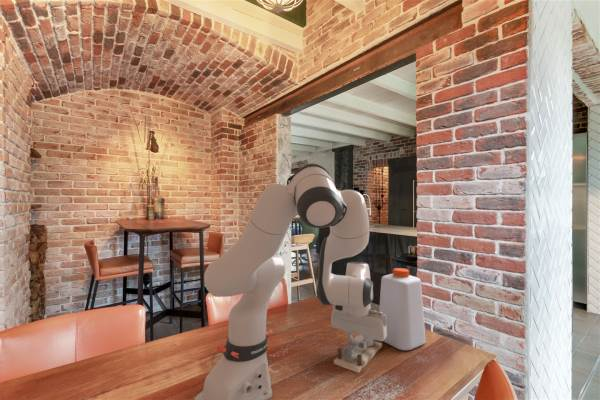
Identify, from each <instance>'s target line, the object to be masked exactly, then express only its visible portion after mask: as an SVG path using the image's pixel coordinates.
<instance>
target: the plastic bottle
mask: <svg viewBox="0 0 600 400" xmlns="http://www.w3.org/2000/svg"><path fill="white" fill-rule="evenodd" d="M380 280H381V281H380V294H379V295H380V296H379V311H378V312H382V313H383V314H384V315H385V316H386V317H387V324H386V327H387V337H386V339H385V340H383V341H382V342H384V343H386V344H388V345H390V346H392V347H393V348H395V349H397V350H399V351H411V350H414V349H415V348H418V347H420V346H423V345H424V344H425V343H426V329H425V328H426V327H425V317H424V316H425V313H424V304H423V303H424V301H423V289H422V280H421V279H420V278H419V277H417V276H415V275H411V274H410V270H409V269H408V268H402V267H400V268H399V267H395V268H393V269H392V273H390V274H386V275H383V276H382V277H381V279H380Z"/></svg>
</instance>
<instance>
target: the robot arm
mask: <svg viewBox="0 0 600 400" xmlns="http://www.w3.org/2000/svg"><path fill="white" fill-rule="evenodd" d="M336 187H337V186H336V184H335V183H334V180H333V179H332V177H331V174H330V173H329V171H328V170H327V169H326V168H325V167H323V165H320V164H318V163H312V162H311V163H306V164H304V165H302V166H301V167H300V168H298V169H297V170H296V172H295V173H293V174H292V175H290V176H289V177H288V178H287V180H286V185H285V184H280V183H273V184H269V185H267V186H266V187H264V189H263V190H262V192H261V193H260V195H259V197H258V199H257V200H256V202H255V204H254V206H253V208H252V210H251V212H250V215H249V217H248V220H247V221H246V225H245V226H244V228H243V231H242V233H241V235H240V236H239V238H238V239H237V241H236V242H235V243H234V244H233V245H232V246H231V247H230V248H229V249H228V250H227V251H226V252H225V253H224V254H222V255H221V256H220V257H218V258H217V259H215V260H213V261H212V262H209V264H208V266H207V267H206V268H205V271H204V276H203V279H204V286H205V288H206V290H207V292H208V293H209V294H210V295H211V296H212V297H215V298H216V297H217V298H218V297H219V298H222V297H228V298H229V297H235V296H238V295H241V297H240V299H239V300H238V302H236V303H235V304H234V305H233V306H232V308H231V309H230V310H229V313H228V338H227V340H226V342H225V345H224V344H221V343H219V344H218V345H217V347H216V352H218V353H221V354H222V356H221V357H220V358H219V360H218V361H217V362H216V364H215V365H214V366H213V367H212V369H211V370H210V372H209V373H208V374H207V375H206V376H205V378H204V384H203V389H202V391H200V392H199V393H198V394H197V395H196V396H195V397H194V399H193V400H268V399H270V398H272V397H273V389H272V378H271V374H270V370H269V361H268V355H267V350H268V344H269V342H268V335H267V314H268V309H269V308H268V307H269V303H270V302H271V298H272V295H273V294H274V292H275V289H276V288H277V286H278V285H279V284H280V283H281V281H282V280H283V279H284V277H285V274H286V263H285V261H284V259H283V258H282V256H281V255H279V254H278V251H279V250H280V247H281V245H282V243H283V241H284V240H285V238H286V234H287V233H288V231H289V229H290V226H291V224H292V222H293V220H294V219H295V218H296V217H297V216H299V218H300V220H301V221H302V222H303V223H304V224H305V225H307V226H308V227H310V228H314V229H325V228H329V235H328V236H326V237H325V238H323V240H322V243H321V246H320V248H319V249H320V250H319V257H318V271H317V272H318V273H317V281H316V286H315V287H316V288H315V296H316V299H317V300H318V301H319V302H320V303H321V304H322V305H323V306H332V308H333V309H332V311H331V316H330V318H331V319H330V324H331V326H332V327H331V328H334V329H337V330H339V331H340V330H341V331H344V332H346V336H347V337H348V340H349V342H350V341H352V340H353V339H354V338H355V337H353V334H355V335H356V336H357V335H361V336H364V339H365V341H363V342H362V343H361V348H364V349H366V347H367V342H368V340H369V339H370V338H371V339H375V340H376V341H377V342H384V341H383V340H385V339H386V337H387V327H386V324H387V317H386V316H385V315H384V314H383V313H382V312H379V311H377V310H374V309H371V308H372V307H371V305H372V302H373V300H374V283H373V281H372V280H371V271H370V266H369V264H368V263H367V262H365V261H349V262H347V263H346V270H345V275H341V274H334V273H332V268H333V266H332V265H333V263H334V262H336V261H338V260H342V259H348V258H352V257H355V256H356V255H359V254H360V253H361V252H363V251H364V250H365V249H366V248H367V246H368V245H369V240H370V217H369V211H368V207H367V204H366V201H365V198H364V196H363V195H362V193H360V192H359V191H357V190H354V189H343V190H339V189H337V188H336Z"/></svg>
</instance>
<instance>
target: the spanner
mask: <svg viewBox="0 0 600 400" xmlns="http://www.w3.org/2000/svg"><path fill="white" fill-rule="evenodd" d="M353 338H354V339H353V340H352V341H350V340H349V342H348V343H347V344H345V345H344V346H343V351H342V352H343V359H344V360H346V361H349V362H352V361H353V360H354V359H355V358H356V357H357V355H360V354H361V353H362V352H363V351H364V350H365V349H364V348H361V343H362V342H363V341H365V339H364V336H361V335H357V334H356V336H355V337H353ZM376 342H377V340H375V339H371V338H370V339H369V340H368V342H367V347H368V346H373V345H375V344H376ZM367 347H366V348H367Z"/></svg>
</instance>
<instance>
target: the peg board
mask: <svg viewBox="0 0 600 400" xmlns="http://www.w3.org/2000/svg"><path fill="white" fill-rule="evenodd" d="M382 347H383V343H382V342H381V341H376V344H375V345H373V346H368V347H367V348H366V349H365V350H364V351H363V352H362V353H361V354H360V355H357V357H356V358H355V359H354V360H353V361H352V362H349V361H346V360H344V359H343V351H342V348H341V347H338V348H337V352H336V353H337V354H336V355H337V357H336V358H335V359H333V365H337V366H339V367H341V368H344V369H347V370H350V371H351V372H352V371H353V372H354V373H358V374H359V373H360V372H361V371H362V370H363V369H364V367H366V366H367V364H368V363H369V362H370V361H371V360H372V358H373V357H374V356H375V355H376V354H377V353H378V352H379V350H380V349H381V348H382Z"/></svg>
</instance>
